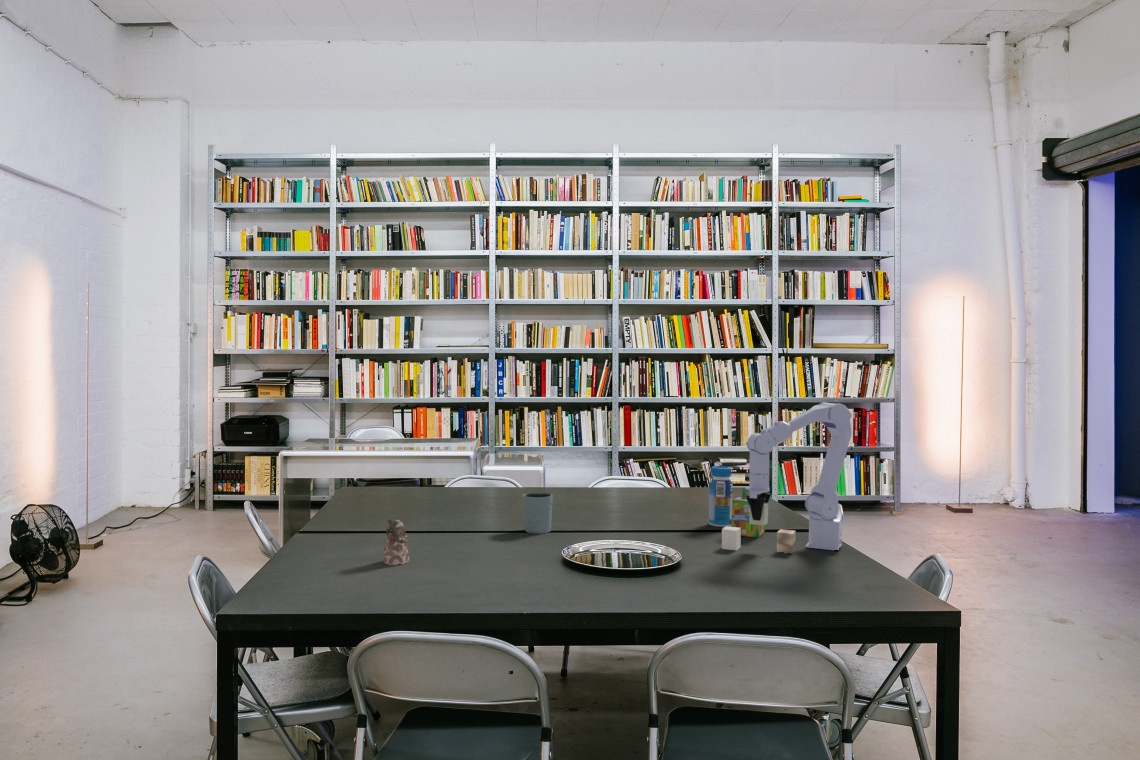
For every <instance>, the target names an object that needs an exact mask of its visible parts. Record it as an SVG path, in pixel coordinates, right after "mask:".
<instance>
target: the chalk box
mask: <svg viewBox="0 0 1140 760" xmlns="http://www.w3.org/2000/svg"><path fill="white" fill-rule="evenodd" d="M741 493H742V494H741V495H740V496H738V497H735V498H733V500H732V522H731V526H730V527H738V528H741V537H747V538H748V537H749V538H755V539H759V538H760V537H761V536H762V535H764V534H765V531H766V525H755V524H749V508H750V505H749V503H748V501H747V499H746V496H748V495H747V493H750V491H749V490H746V489H745V487H744V488H742V492H741Z"/></svg>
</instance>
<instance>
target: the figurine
mask: <svg viewBox="0 0 1140 760" xmlns="http://www.w3.org/2000/svg"><path fill="white" fill-rule="evenodd" d="M387 523H388V524H389V525H388V526H387V528H386V540H385V544H384V547H383V554H382V561H383V564H384V563H385V564H384V565H386V564H388V565H387V566H399V565H398V564H403V565H405V564H404V563H407V562H408V561H409V562H410V554H409V547H408V539H407V538H409V537H408V536H409V535H407V532H406V530H405V527H404V525H405V524H404V523H403V522H402V521H401V520H400V519H395V520H394V519H391V518H389V519H387ZM409 562H408V563H409ZM408 563H407V564H408Z"/></svg>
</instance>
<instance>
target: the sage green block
mask: <svg viewBox="0 0 1140 760" xmlns="http://www.w3.org/2000/svg"><path fill="white" fill-rule="evenodd" d="M768 523H769V502H768V503H765V502H764V505H763V509H762V516H761V520H760V521H759V520H753V518H752V513H751V509H750V508H749V524H755V525H765V526H767V524H768Z"/></svg>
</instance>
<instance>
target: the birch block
mask: <svg viewBox="0 0 1140 760" xmlns="http://www.w3.org/2000/svg"><path fill="white" fill-rule="evenodd" d="M796 532H797V531H796V530H792V529H791V530H790V529H782V528H781V529H779V530H778V531H777V532H776V553H779V552H784V553H783V554H787V553H793V552H794V551H795V552H796V540H797V539H796V534H797V533H796ZM795 552H794V553H795ZM794 553H793V554H794Z"/></svg>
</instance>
